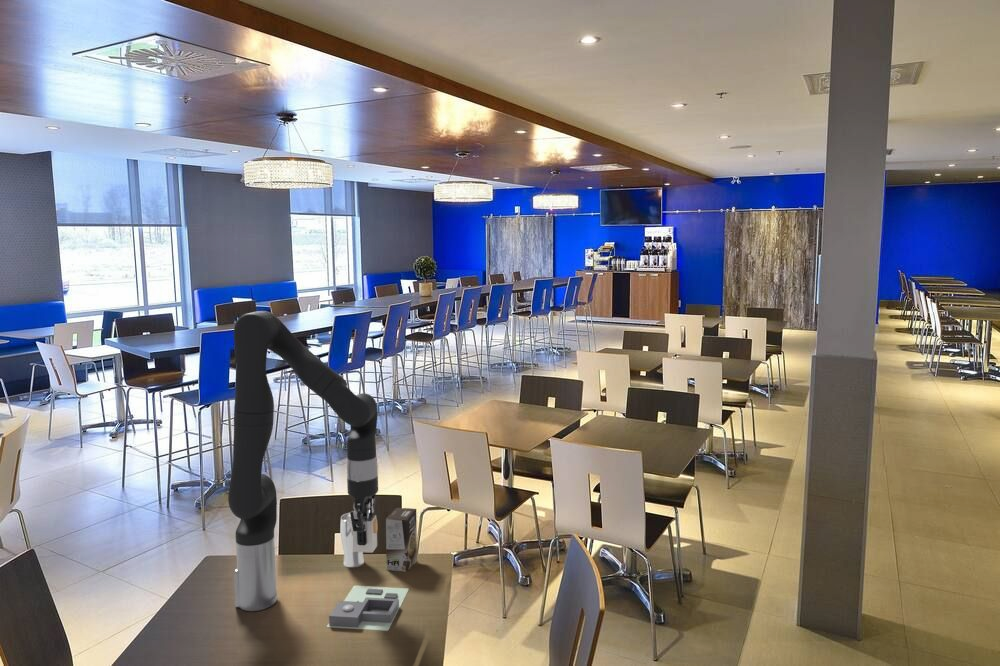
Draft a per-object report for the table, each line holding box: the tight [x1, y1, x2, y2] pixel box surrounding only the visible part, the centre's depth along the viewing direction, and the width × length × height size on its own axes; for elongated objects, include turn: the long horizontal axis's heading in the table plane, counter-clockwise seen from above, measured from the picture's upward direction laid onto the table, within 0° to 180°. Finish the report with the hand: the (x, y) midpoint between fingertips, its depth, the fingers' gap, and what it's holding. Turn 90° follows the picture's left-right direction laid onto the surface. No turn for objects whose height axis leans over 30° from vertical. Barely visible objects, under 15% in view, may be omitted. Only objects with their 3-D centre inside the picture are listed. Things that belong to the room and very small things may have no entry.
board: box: [326, 585, 410, 632], centre depth 166 cm, size 15×20×3 cm
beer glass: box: [339, 511, 365, 568], centre depth 190 cm, size 7×7×15 cm
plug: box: [352, 514, 379, 553], centre depth 167 cm, size 6×4×8 cm
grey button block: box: [328, 600, 367, 628], centre depth 163 cm, size 7×11×3 cm, turn 174°
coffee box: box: [385, 507, 418, 573], centre depth 189 cm, size 9×6×16 cm
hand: (364, 540), depth 167 cm, fingers closed on plug, 4 cm apart
